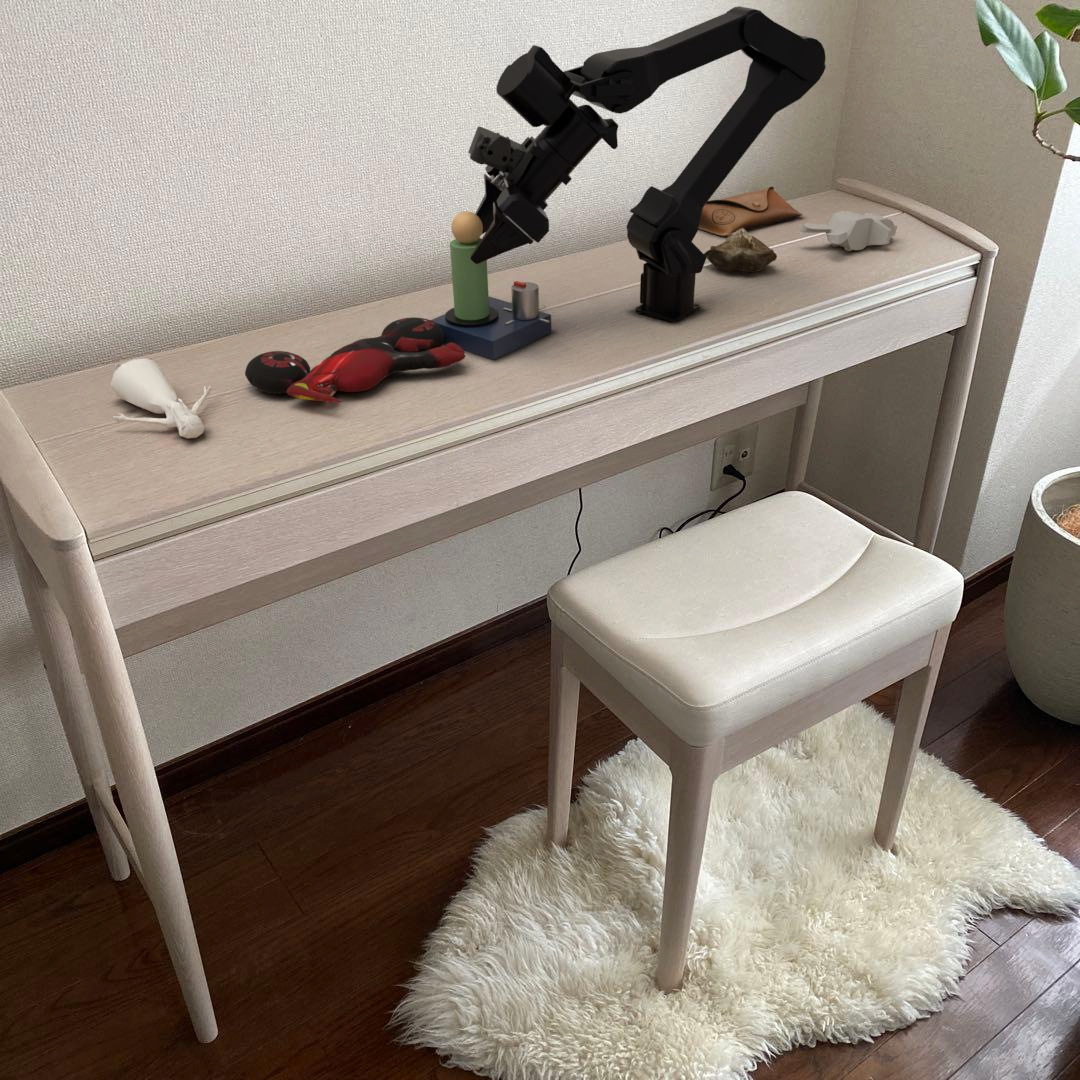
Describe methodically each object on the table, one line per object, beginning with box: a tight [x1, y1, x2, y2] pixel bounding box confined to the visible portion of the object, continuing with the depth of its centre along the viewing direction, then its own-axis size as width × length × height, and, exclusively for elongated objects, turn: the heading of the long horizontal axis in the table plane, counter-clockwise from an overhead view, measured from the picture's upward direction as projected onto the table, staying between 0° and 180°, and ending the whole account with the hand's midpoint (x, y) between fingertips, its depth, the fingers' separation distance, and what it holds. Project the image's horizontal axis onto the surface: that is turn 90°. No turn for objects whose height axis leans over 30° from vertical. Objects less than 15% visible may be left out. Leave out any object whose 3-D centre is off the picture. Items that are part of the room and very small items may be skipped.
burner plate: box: [445, 306, 499, 328], centre depth 135 cm, size 7×7×1 cm
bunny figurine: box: [799, 210, 898, 252], centre depth 162 cm, size 10×5×15 cm
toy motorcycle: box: [244, 316, 466, 403], centre depth 125 cm, size 25×5×16 cm
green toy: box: [449, 210, 489, 320], centre depth 131 cm, size 4×4×13 cm
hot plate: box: [430, 296, 552, 361], centre depth 136 cm, size 12×12×3 cm
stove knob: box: [511, 280, 540, 320], centre depth 134 cm, size 3×3×4 cm
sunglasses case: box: [698, 186, 803, 237], centre depth 174 cm, size 18×7×7 cm
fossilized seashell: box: [703, 228, 778, 273], centre depth 154 cm, size 8×7×10 cm
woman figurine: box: [110, 357, 212, 440], centre depth 118 cm, size 12×4×18 cm
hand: (470, 249), depth 130 cm, fingers open, 9 cm apart
